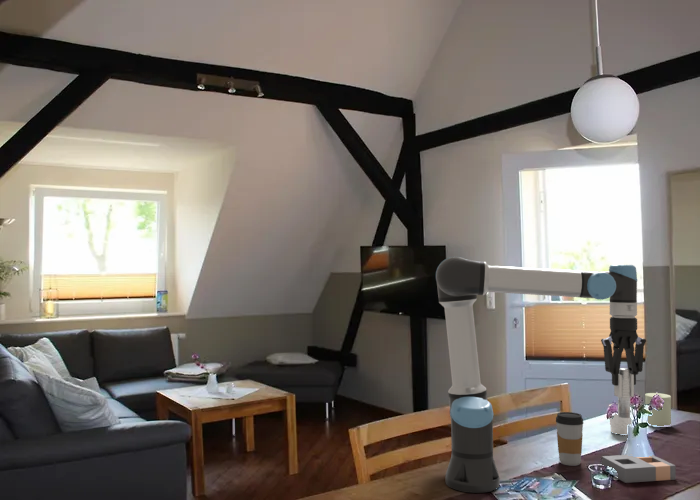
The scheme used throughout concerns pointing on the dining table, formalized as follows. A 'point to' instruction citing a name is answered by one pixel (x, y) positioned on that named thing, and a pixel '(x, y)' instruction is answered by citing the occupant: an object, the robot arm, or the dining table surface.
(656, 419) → the can
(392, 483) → the dining table surface
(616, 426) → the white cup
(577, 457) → the coffee cup
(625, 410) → the pin
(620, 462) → the mount block
